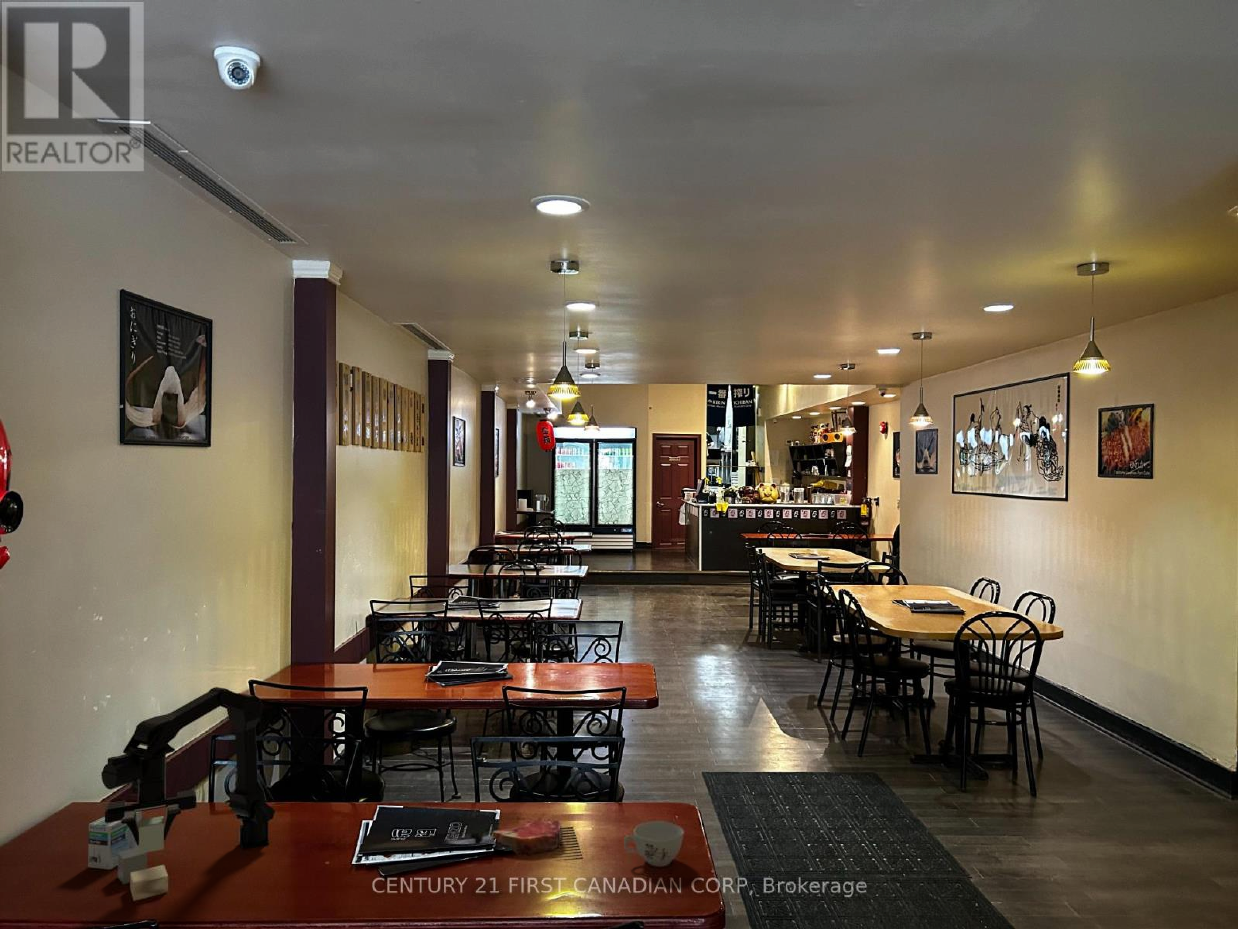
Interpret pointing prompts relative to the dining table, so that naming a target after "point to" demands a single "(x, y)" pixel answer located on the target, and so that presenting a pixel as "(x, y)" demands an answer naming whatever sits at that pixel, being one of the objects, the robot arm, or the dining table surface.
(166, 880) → the maple base
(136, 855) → the grey block
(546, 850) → the steak
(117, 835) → the light bulb box
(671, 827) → the teacup
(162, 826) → the sage block
